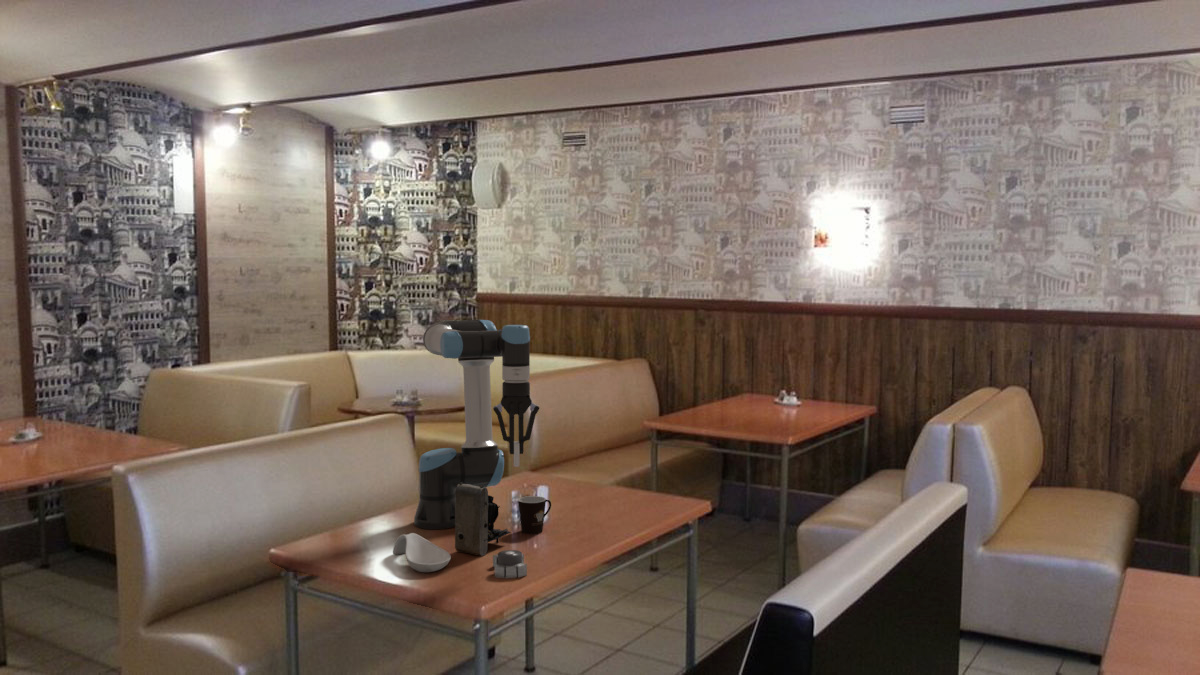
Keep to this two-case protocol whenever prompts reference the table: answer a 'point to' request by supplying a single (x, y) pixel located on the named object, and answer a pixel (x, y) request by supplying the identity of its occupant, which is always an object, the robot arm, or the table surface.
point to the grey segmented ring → (509, 569)
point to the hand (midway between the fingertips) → (516, 465)
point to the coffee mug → (532, 513)
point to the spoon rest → (421, 553)
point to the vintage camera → (475, 519)
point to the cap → (509, 557)
